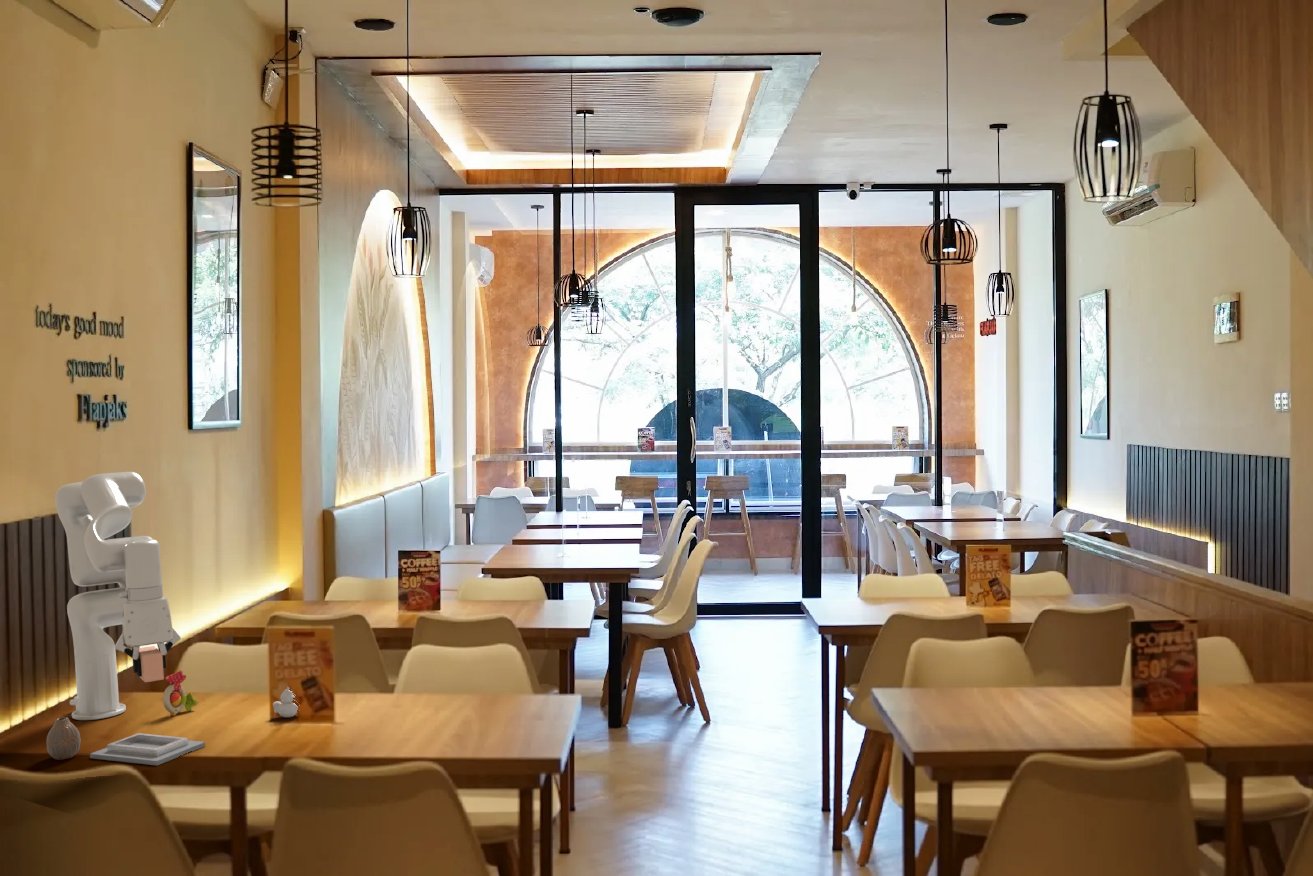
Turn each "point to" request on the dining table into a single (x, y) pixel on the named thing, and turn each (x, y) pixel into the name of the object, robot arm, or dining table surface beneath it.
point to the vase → (63, 739)
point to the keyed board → (147, 749)
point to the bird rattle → (177, 695)
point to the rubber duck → (286, 704)
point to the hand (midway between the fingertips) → (150, 673)
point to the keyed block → (151, 664)
